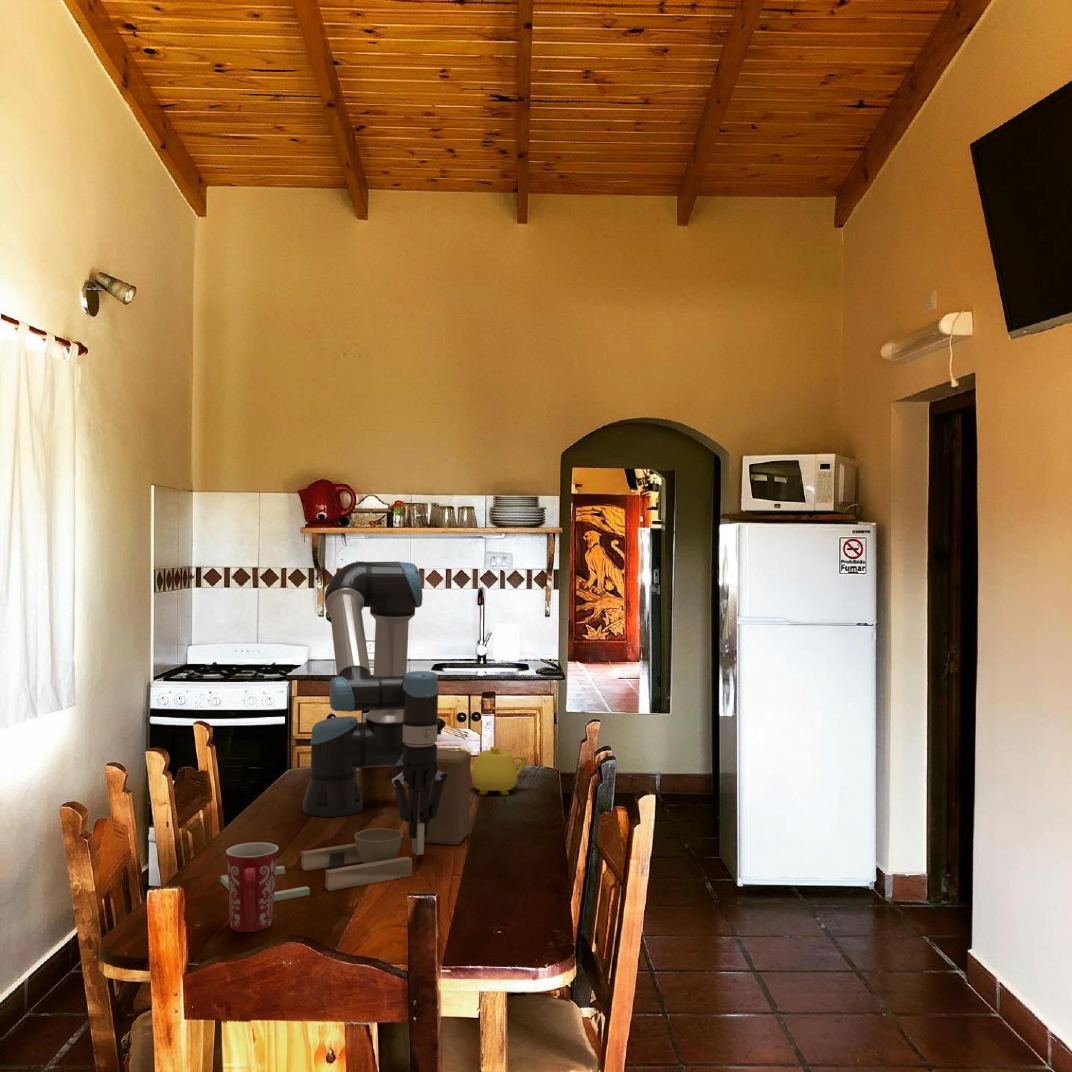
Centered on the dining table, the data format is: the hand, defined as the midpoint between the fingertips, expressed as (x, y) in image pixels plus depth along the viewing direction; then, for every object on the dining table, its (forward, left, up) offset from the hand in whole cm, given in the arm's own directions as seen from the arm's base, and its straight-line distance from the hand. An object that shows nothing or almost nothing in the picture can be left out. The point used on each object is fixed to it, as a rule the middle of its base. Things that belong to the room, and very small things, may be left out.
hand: (417, 852), depth 212 cm
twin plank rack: (0, -14, -2) cm, 14 cm away
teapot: (-46, +46, -2) cm, 65 cm away
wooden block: (-12, +13, -2) cm, 18 cm away
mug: (+19, -42, -2) cm, 46 cm away
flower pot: (0, -9, -2) cm, 10 cm away
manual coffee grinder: (-72, +36, -2) cm, 80 cm away
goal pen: (0, -33, -2) cm, 33 cm away
